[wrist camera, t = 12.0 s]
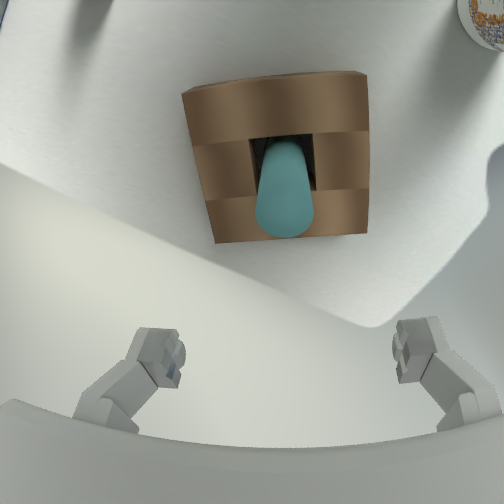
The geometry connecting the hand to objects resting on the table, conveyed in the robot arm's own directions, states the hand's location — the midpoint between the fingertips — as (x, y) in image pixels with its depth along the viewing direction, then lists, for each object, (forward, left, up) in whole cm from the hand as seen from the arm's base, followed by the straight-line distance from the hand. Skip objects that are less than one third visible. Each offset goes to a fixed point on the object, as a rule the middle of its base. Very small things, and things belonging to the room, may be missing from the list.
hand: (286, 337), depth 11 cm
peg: (0, 0, -21) cm, 21 cm away
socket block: (0, 0, -21) cm, 21 cm away
